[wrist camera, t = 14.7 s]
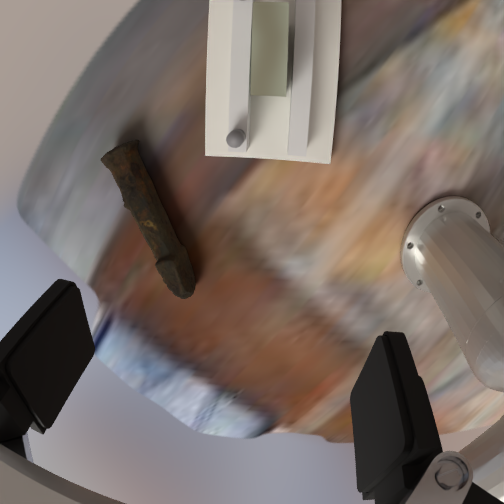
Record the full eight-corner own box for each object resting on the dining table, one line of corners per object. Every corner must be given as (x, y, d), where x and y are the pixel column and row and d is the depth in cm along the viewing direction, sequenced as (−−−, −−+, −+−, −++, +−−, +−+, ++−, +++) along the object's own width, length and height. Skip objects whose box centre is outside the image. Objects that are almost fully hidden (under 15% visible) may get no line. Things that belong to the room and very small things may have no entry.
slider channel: (338, -9, 22) (350, -27, 17) (328, 160, 31) (337, 175, 26) (213, -15, 23) (200, -34, 18) (208, 152, 32) (194, 166, 27)
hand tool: (112, 149, 32) (90, 159, 28) (141, 135, 32) (121, 143, 27) (176, 288, 41) (165, 311, 37) (204, 282, 40) (196, 305, 36)
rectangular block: (287, 24, 24) (289, 2, 17) (284, 95, 27) (286, 96, 20) (260, 23, 24) (253, 1, 17) (258, 93, 27) (250, 95, 20)
